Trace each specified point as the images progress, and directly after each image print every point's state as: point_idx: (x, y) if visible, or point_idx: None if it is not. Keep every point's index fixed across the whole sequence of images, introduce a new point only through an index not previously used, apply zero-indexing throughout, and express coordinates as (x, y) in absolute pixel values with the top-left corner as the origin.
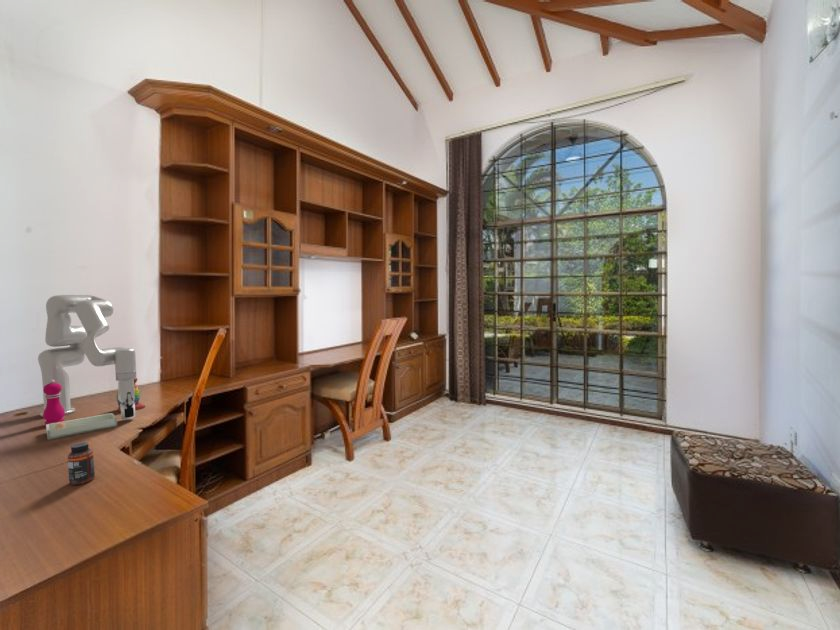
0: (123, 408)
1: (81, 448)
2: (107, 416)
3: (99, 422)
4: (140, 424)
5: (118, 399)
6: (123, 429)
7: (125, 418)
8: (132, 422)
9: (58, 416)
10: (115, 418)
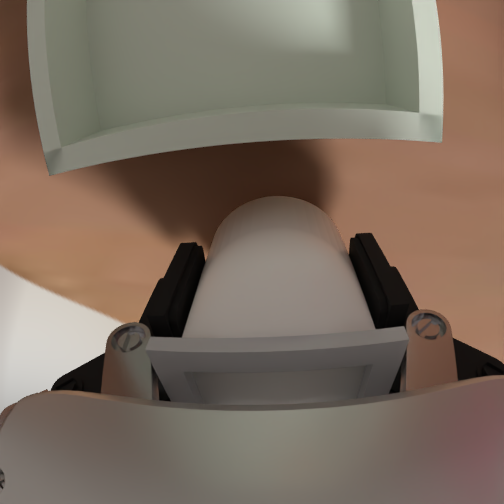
0: (198, 310)
1: None
2: (403, 72)
3: (34, 13)
4: (77, 295)
5: (496, 380)
6: (7, 197)
7: (215, 236)
8: (166, 262)
9: None
10: (55, 161)
